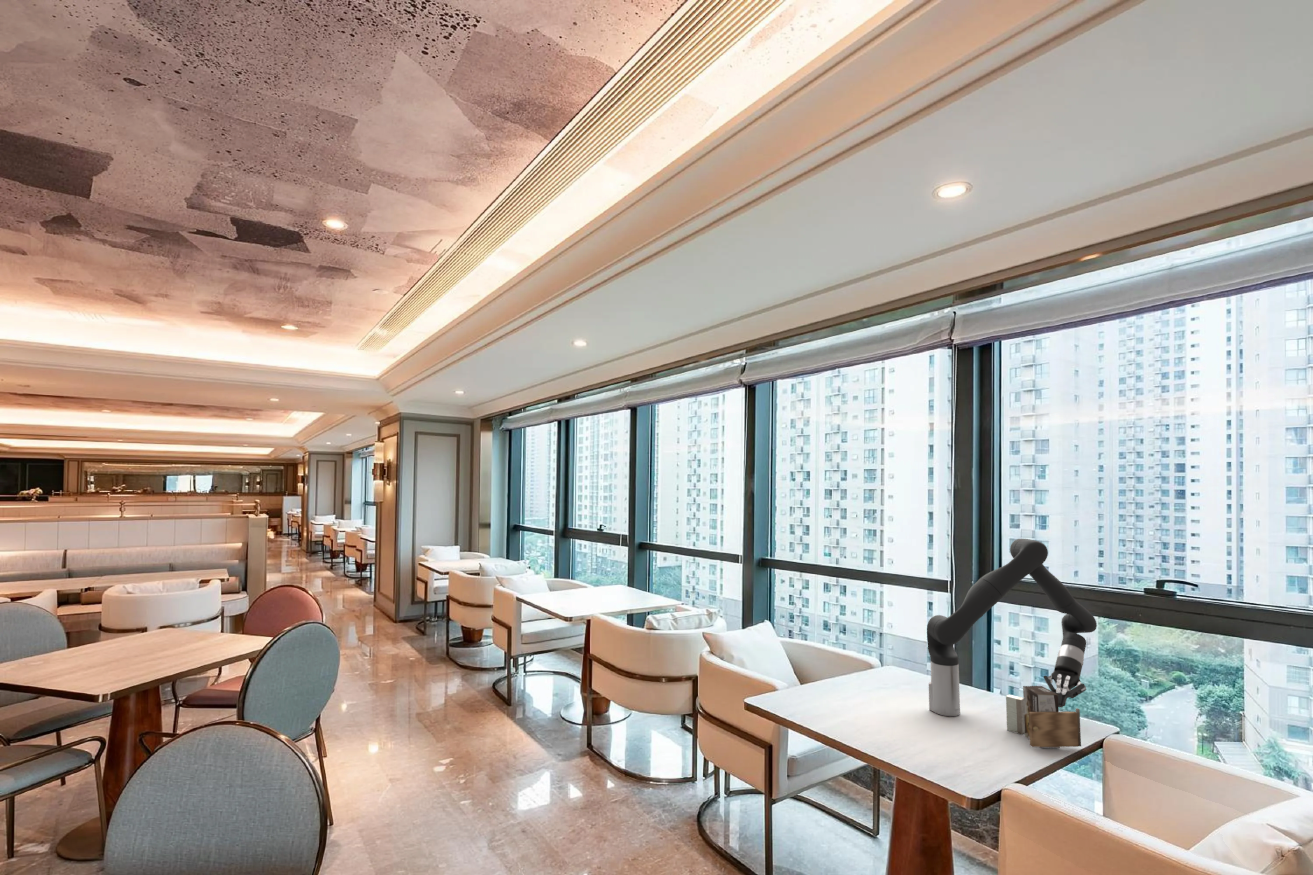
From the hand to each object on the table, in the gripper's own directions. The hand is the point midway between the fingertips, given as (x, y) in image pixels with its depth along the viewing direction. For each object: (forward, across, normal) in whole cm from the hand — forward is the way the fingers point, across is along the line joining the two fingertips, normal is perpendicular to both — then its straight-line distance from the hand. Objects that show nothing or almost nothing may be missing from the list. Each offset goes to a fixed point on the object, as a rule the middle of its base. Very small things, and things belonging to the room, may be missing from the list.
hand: (1059, 705), depth 212 cm
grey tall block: (+16, -8, -6) cm, 19 cm away
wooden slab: (+19, +6, -11) cm, 23 cm away
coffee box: (+18, +1, -8) cm, 20 cm away
